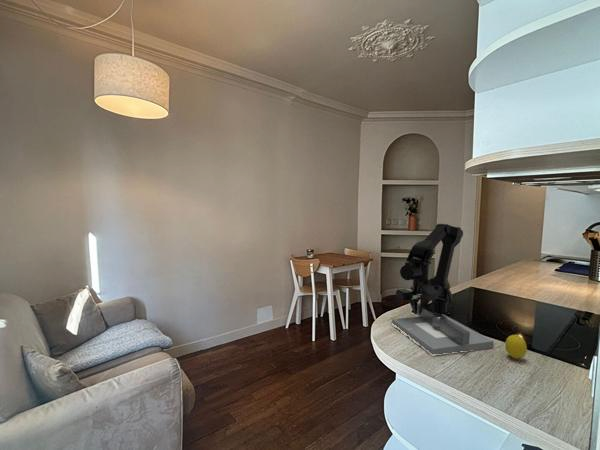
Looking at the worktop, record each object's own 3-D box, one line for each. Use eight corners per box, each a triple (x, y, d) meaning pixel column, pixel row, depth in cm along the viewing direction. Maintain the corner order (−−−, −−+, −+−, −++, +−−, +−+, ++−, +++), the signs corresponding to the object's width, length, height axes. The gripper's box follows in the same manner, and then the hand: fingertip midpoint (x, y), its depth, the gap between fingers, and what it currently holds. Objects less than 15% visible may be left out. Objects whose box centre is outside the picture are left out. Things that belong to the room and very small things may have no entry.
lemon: (501, 358, 95) (503, 333, 94) (507, 352, 98) (509, 329, 98) (522, 365, 91) (525, 340, 90) (527, 359, 94) (529, 335, 93)
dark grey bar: (413, 313, 122) (413, 303, 122) (422, 312, 123) (423, 303, 123) (459, 345, 96) (460, 333, 95) (471, 344, 97) (472, 332, 96)
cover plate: (442, 320, 124) (443, 313, 124) (493, 348, 101) (493, 340, 101) (391, 325, 118) (392, 318, 118) (432, 356, 95) (433, 348, 95)
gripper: (412, 283, 109) (410, 324, 111) (455, 280, 114) (452, 319, 115) (395, 275, 120) (394, 312, 122) (435, 272, 125) (433, 309, 126)
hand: (418, 313), depth 121 cm, fingers open, 3 cm apart
